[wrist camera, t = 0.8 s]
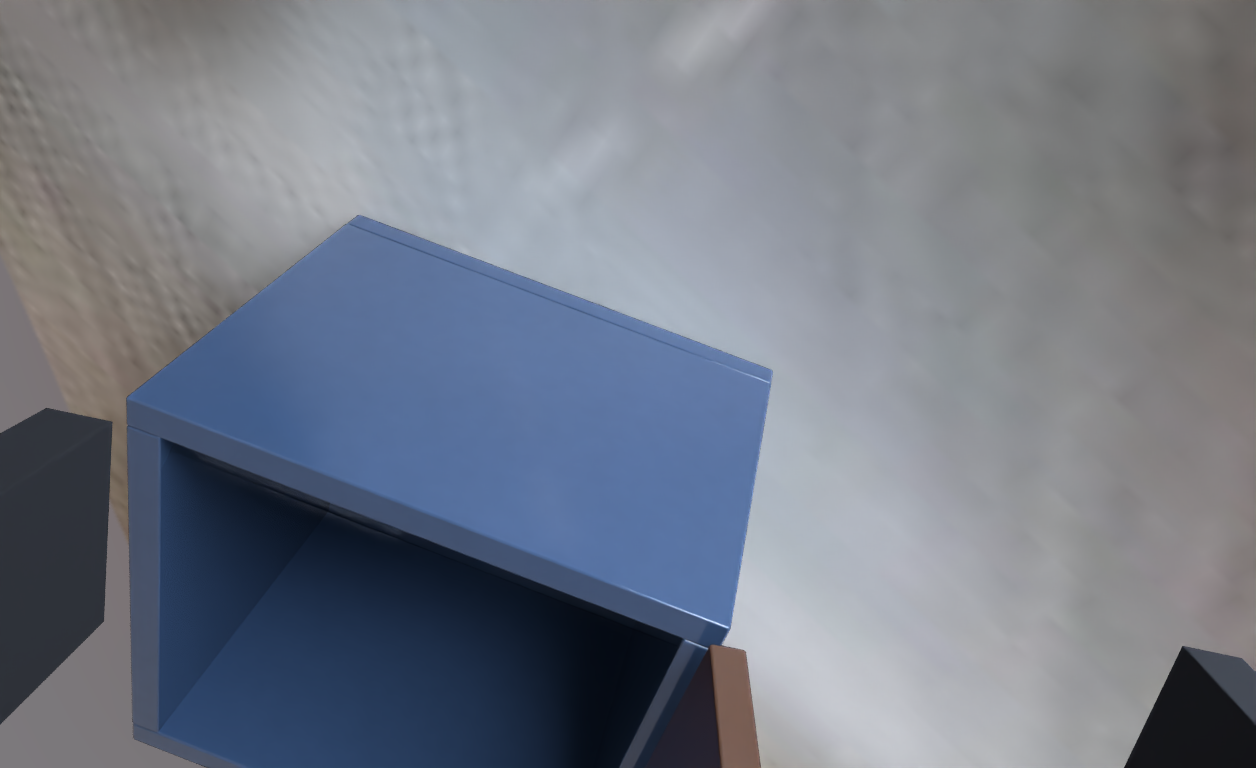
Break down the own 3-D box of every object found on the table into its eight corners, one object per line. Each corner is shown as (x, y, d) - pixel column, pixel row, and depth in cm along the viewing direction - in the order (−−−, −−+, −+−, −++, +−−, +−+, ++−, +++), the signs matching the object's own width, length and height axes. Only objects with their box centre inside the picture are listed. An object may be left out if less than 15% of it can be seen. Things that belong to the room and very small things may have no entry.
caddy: (317, 505, 36) (131, 739, 27) (358, 213, 29) (125, 396, 20) (650, 633, 35) (577, 914, 26) (774, 369, 28) (730, 629, 19)
